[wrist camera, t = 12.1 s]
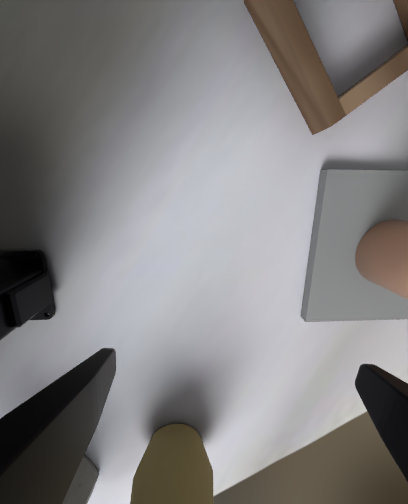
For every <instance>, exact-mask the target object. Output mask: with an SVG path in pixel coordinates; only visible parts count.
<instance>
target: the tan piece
mask: <svg viewBox="0 0 408 504" xmlns="http://www.w3.org/2000/svg"><path fill="white" fill-rule="evenodd" d="M355 263H356V267H357V269H358V271H359V273H360V274H361V275H362V276H363V277H364V278H365V279H367V280H368V281H370V282H372V283H375V284H377V285H379V286H381V287H383V288H385V289H387V290H389V291H391V292H393V293H395V294H397V295H399V296H401V297H403V298H405V299H407V300H408V221H406V220H398V219H391V220H386V221H383V222H380V223H378V224H376V225H375V226H373V227H372V228H371V229H369V230H368V231H367V232H366V233H365V234H364V236H363V237H362V239H361V240H360V242H359V244H358V246H357V250H356V254H355Z"/></svg>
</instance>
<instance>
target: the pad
mask: <svg viewBox="0 0 408 504" xmlns="http://www.w3.org/2000/svg"><path fill="white" fill-rule="evenodd" d="M391 219H398V220H406V221H408V171H401V170H338V169H327V170H321V171H320V179H319V186H318V193H317V201H316V208H315V215H314V222H313V230H312V237H311V244H310V252H309V259H308V266H307V274H306V281H305V288H304V295H303V303H302V310H301V317H302V318H303V320H304V321H305V322H320V321H356V320H391V319H408V300H407V299H405V298H403V297H401V296H399V295H397V294H395V293H393V292H391V291H389V290H387V289H385V288H383V287H381V286H379V285H377V284H375V283H372V282H370V281H368V280H367V279H365V278H364V277H363V276H362V275H361V274H360V273H359V271H358V269H357V267H356V263H355V254H356V250H357V246H358V244H359V242H360V240H361V239H362V237H363V236H364V234H365V233H366V232H367V231H368V230H369V229H371V228H372V227H373V226H375V225H376V224H378V223H380V222H383V221H386V220H391Z"/></svg>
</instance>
